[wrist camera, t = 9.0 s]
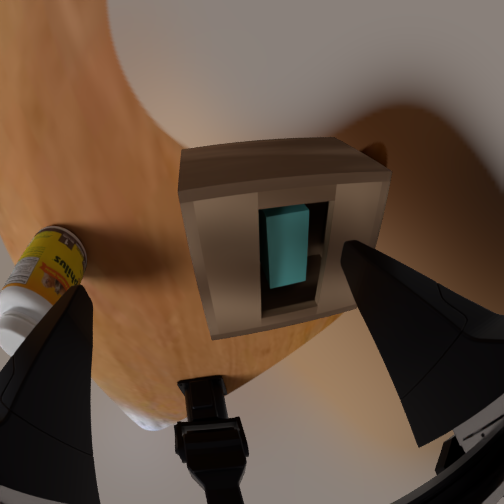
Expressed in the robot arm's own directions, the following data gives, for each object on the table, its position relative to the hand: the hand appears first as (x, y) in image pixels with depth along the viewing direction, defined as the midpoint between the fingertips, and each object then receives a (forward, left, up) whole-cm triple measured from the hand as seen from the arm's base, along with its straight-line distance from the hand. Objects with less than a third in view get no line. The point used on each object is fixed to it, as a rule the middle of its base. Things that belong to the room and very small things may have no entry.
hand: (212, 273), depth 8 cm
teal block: (-5, -5, -11) cm, 13 cm away
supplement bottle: (-5, +13, -12) cm, 18 cm away
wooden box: (-5, -4, -12) cm, 13 cm away
